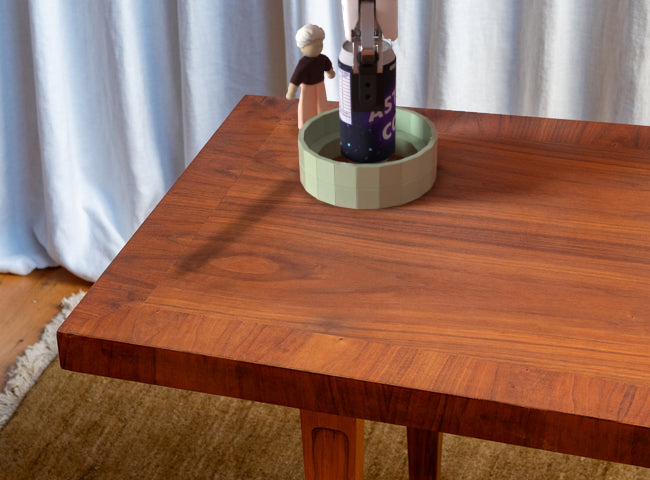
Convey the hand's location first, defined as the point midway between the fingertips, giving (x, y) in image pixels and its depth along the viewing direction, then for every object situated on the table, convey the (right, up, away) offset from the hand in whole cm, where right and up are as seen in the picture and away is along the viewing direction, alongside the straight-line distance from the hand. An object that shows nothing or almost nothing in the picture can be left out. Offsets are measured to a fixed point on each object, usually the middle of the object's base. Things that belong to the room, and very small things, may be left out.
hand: (368, 94), depth 88 cm
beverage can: (0, -6, +4) cm, 7 cm away
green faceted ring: (0, -8, +6) cm, 10 cm away
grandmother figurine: (-5, 0, +16) cm, 17 cm away
